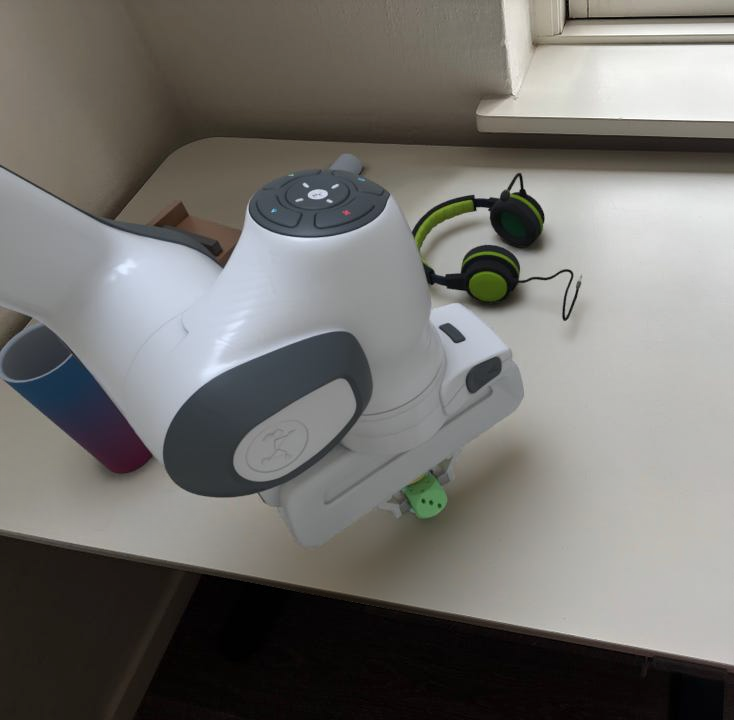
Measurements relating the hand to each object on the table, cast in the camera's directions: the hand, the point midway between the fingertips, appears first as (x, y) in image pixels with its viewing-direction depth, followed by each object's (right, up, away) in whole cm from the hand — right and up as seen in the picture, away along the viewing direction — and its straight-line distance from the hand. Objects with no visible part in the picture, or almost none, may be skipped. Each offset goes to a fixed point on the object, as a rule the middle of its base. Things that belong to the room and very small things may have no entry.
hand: (421, 492), depth 58 cm
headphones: (+7, +20, +20) cm, 29 cm away
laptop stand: (-28, +18, +23) cm, 40 cm away
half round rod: (-16, +30, +32) cm, 47 cm away
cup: (-29, +2, +11) cm, 31 cm away
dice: (0, -1, +2) cm, 3 cm away
